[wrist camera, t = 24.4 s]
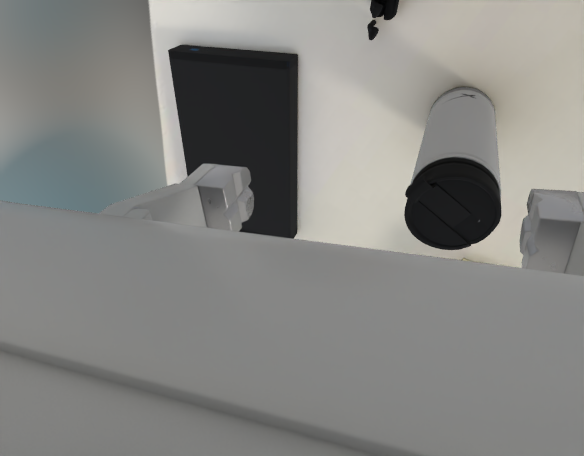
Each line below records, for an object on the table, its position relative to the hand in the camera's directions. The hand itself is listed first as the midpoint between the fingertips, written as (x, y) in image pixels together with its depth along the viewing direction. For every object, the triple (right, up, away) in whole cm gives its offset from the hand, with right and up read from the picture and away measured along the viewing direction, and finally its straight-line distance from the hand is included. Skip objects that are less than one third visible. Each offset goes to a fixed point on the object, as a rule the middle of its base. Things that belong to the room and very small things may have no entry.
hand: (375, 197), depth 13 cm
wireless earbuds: (+7, +21, +28) cm, 36 cm away
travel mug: (+15, +11, +32) cm, 37 cm away
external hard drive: (-8, +10, +43) cm, 44 cm away
